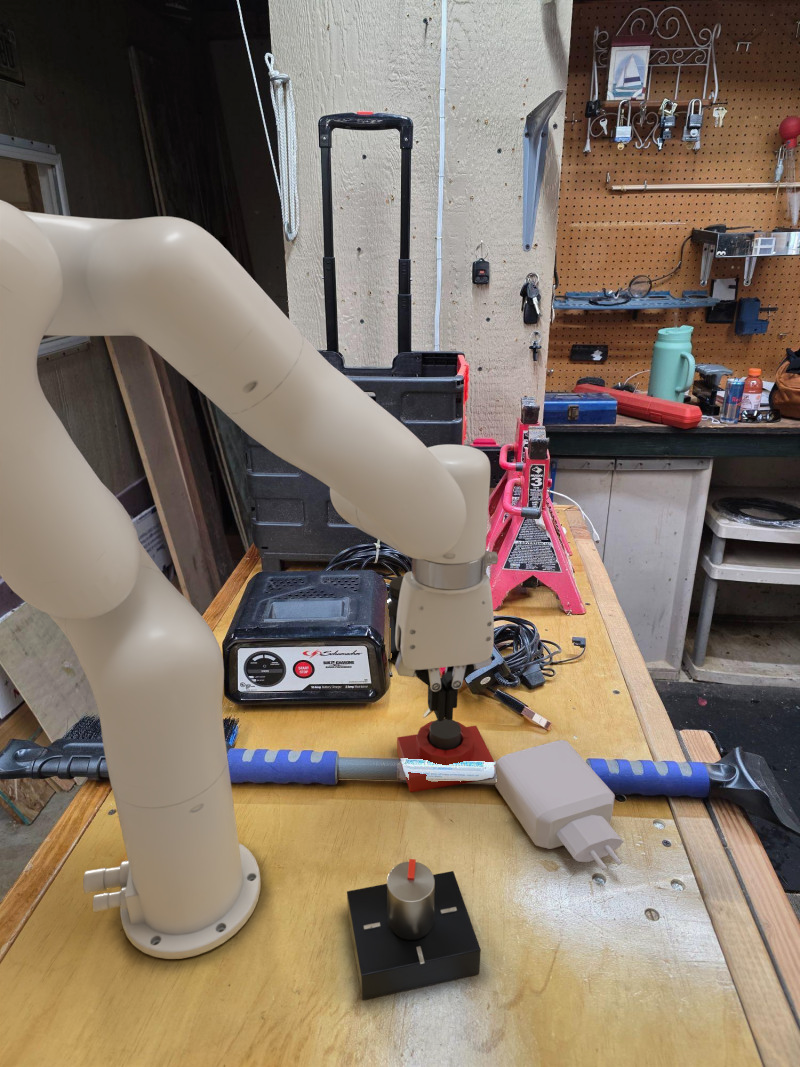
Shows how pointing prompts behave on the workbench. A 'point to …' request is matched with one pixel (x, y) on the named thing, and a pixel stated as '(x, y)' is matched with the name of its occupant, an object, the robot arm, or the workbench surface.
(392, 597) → the supplement bottle
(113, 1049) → the workbench surface
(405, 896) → the dial
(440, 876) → the black flat block
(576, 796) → the charger
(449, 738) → the button
